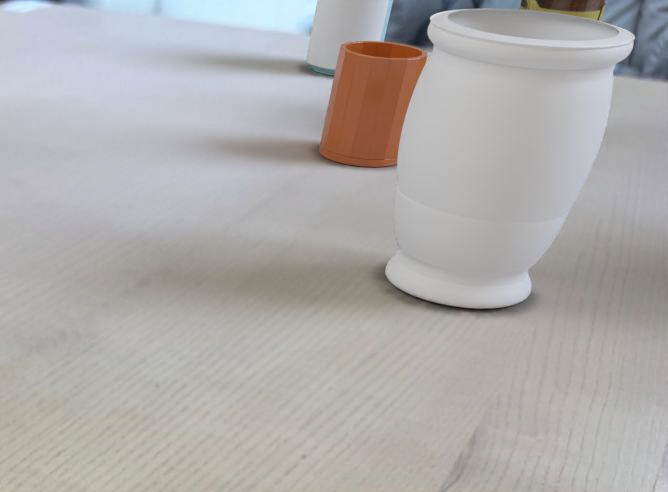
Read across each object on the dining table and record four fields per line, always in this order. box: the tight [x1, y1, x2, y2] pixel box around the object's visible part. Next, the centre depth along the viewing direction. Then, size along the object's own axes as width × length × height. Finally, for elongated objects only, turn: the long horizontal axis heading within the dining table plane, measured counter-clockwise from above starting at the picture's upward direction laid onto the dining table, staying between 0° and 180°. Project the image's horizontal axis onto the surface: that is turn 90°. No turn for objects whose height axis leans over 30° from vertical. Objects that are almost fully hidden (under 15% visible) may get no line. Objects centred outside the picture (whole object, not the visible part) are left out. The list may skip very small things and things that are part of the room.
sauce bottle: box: [518, 0, 606, 22], centre depth 98 cm, size 7×6×20 cm
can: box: [305, 0, 394, 76], centre depth 118 cm, size 7×7×12 cm
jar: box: [384, 7, 636, 309], centre depth 70 cm, size 11×10×15 cm
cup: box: [318, 41, 428, 168], centre depth 95 cm, size 6×6×8 cm
